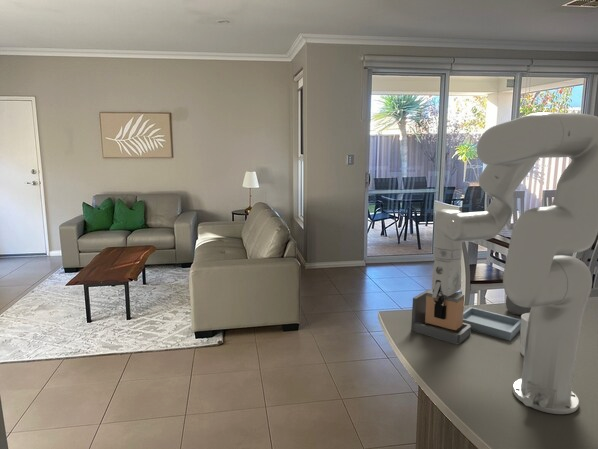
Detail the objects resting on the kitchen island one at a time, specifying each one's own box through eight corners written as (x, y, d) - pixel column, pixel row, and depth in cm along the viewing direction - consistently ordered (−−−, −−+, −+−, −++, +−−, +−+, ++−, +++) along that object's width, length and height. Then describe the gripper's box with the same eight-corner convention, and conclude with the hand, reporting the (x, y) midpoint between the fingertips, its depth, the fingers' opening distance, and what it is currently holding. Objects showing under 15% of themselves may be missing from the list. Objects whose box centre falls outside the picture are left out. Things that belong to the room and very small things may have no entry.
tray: (510, 340, 123) (510, 332, 123) (455, 325, 133) (455, 317, 133) (522, 327, 132) (523, 320, 131) (469, 314, 142) (470, 306, 141)
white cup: (555, 354, 116) (559, 318, 114) (546, 365, 110) (551, 327, 108) (522, 344, 121) (526, 310, 119) (513, 354, 115) (517, 318, 113)
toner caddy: (455, 330, 123) (457, 299, 121) (425, 322, 129) (426, 292, 127) (462, 325, 126) (464, 294, 125) (432, 317, 132) (434, 288, 131)
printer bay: (458, 345, 121) (460, 310, 119) (411, 330, 130) (412, 297, 128) (471, 333, 128) (474, 300, 126) (426, 320, 137) (428, 289, 135)
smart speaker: (535, 321, 137) (540, 277, 134) (502, 314, 142) (507, 272, 139) (537, 311, 145) (542, 270, 142) (507, 305, 150) (511, 265, 147)
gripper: (447, 261, 115) (444, 327, 118) (472, 250, 128) (468, 310, 131) (420, 256, 120) (418, 320, 123) (447, 246, 133) (444, 304, 136)
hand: (444, 314), depth 127 cm, fingers closed on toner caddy, 5 cm apart
